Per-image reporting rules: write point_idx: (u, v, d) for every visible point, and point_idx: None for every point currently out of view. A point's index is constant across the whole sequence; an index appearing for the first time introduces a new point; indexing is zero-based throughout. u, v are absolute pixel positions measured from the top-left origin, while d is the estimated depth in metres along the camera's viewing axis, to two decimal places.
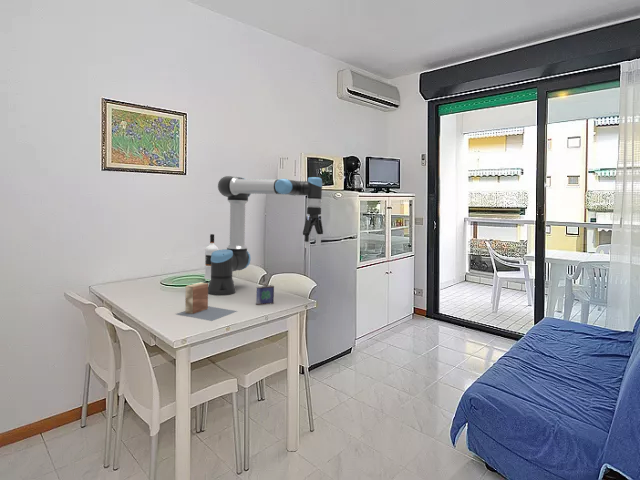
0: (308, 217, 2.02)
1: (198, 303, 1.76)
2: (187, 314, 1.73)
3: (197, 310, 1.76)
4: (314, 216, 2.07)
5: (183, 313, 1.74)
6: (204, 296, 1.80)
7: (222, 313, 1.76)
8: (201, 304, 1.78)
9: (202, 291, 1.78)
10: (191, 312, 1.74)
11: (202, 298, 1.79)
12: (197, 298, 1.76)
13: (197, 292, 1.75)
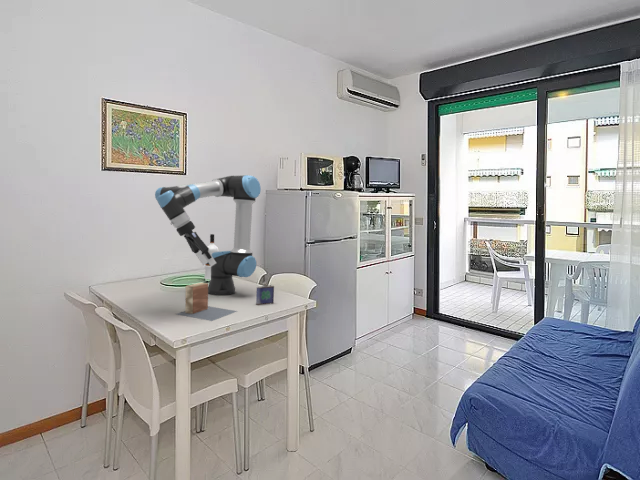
0: None
1: (198, 303, 1.76)
2: (187, 314, 1.73)
3: (197, 310, 1.76)
4: (186, 235, 1.75)
5: (183, 313, 1.74)
6: (204, 296, 1.80)
7: (222, 313, 1.76)
8: (201, 304, 1.78)
9: (202, 291, 1.78)
10: (191, 312, 1.74)
11: (202, 298, 1.79)
12: (197, 298, 1.76)
13: (197, 292, 1.75)
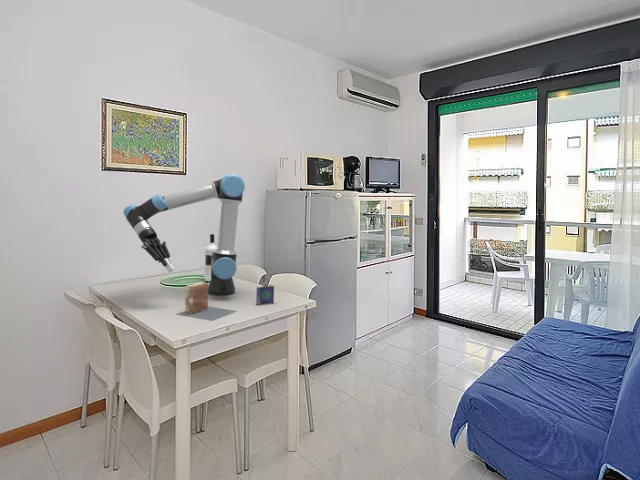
0: None
1: (198, 303, 1.76)
2: (187, 314, 1.73)
3: (197, 310, 1.76)
4: None
5: (183, 313, 1.74)
6: (204, 296, 1.80)
7: (222, 313, 1.76)
8: (201, 304, 1.78)
9: (202, 291, 1.78)
10: (191, 312, 1.74)
11: (202, 298, 1.79)
12: (197, 298, 1.76)
13: (197, 292, 1.75)
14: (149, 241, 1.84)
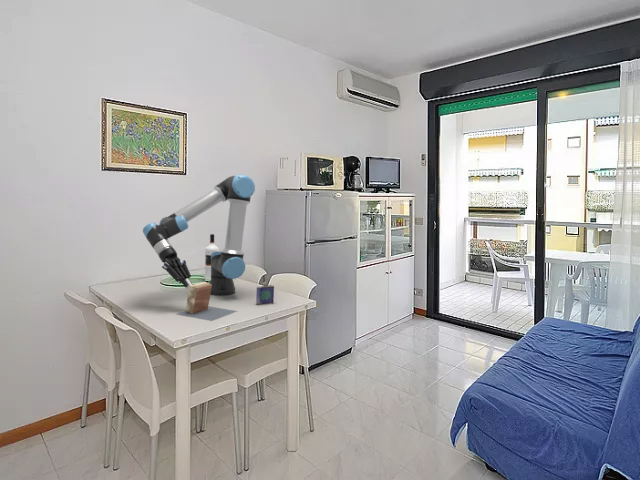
0: None
1: (199, 303, 1.76)
2: (187, 314, 1.73)
3: (197, 310, 1.76)
4: None
5: (183, 313, 1.74)
6: (206, 297, 1.79)
7: (222, 313, 1.76)
8: (202, 304, 1.78)
9: (205, 292, 1.78)
10: (191, 312, 1.74)
11: (204, 299, 1.78)
12: (199, 299, 1.75)
13: (200, 293, 1.75)
14: (169, 261, 1.79)
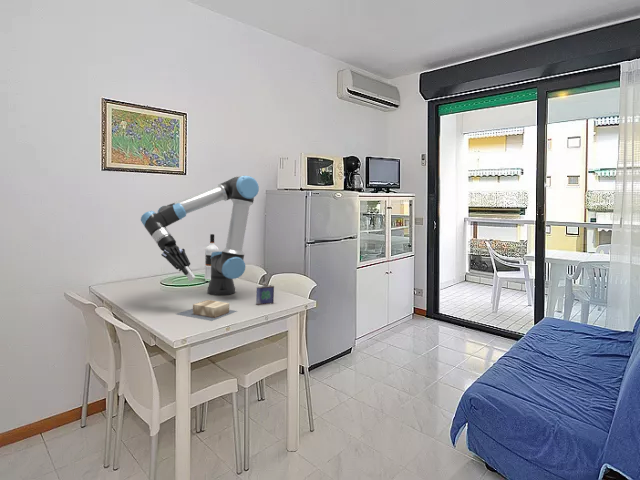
0: None
1: None
2: (187, 314, 1.73)
3: None
4: None
5: (183, 313, 1.74)
6: None
7: None
8: None
9: None
10: (193, 312, 1.73)
11: None
12: None
13: None
14: (169, 249, 1.79)
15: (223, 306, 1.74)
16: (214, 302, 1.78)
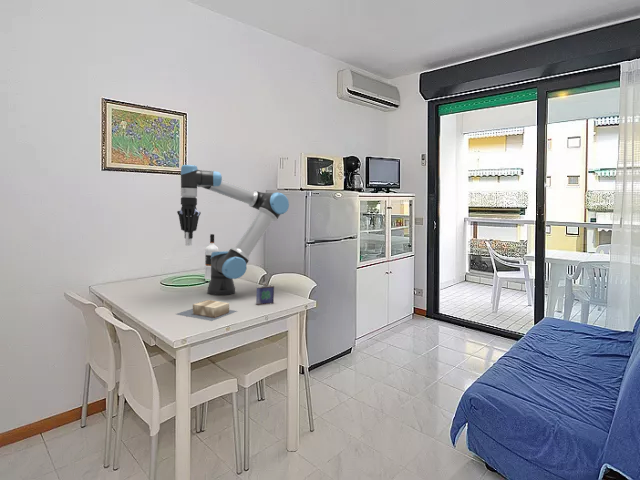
0: None
1: None
2: (187, 314, 1.73)
3: None
4: (183, 205, 1.92)
5: (183, 313, 1.74)
6: None
7: None
8: None
9: None
10: (193, 312, 1.73)
11: None
12: None
13: None
14: None
15: (223, 306, 1.74)
16: (214, 302, 1.78)
